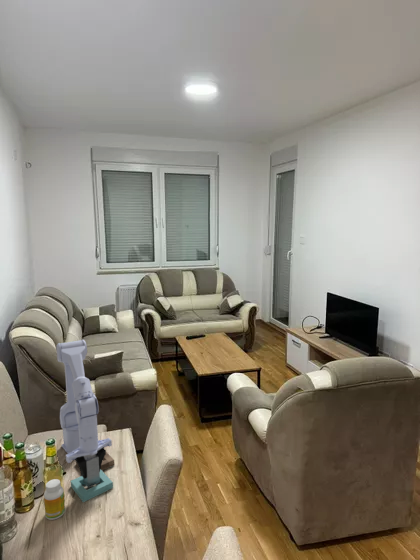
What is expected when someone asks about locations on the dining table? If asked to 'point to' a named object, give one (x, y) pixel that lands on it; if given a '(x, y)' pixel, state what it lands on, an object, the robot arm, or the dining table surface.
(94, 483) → the peg
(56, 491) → the supplement bottle
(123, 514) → the dining table surface
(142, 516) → the dining table surface
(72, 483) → the teal square frame
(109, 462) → the socket block
